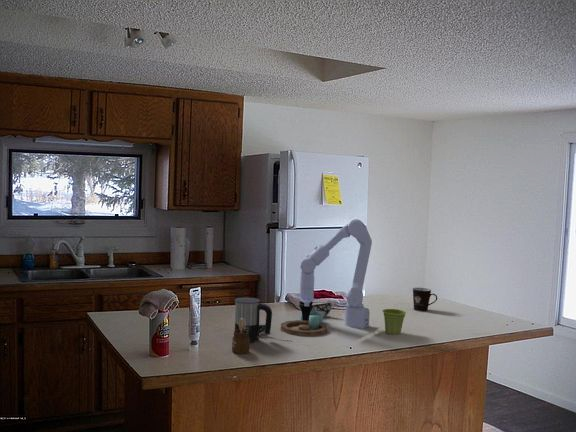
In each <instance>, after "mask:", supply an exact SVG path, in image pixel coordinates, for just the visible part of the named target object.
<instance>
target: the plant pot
mask: <svg viewBox="0 0 576 432" xmlns="http://www.w3.org/2000/svg"><path fill="white" fill-rule="evenodd" d="M382 312H383V318H384V330H385V333H386V334H388V335H389V334H390V335H400V334H402V328H403V324H404V319H405V316H406V314H407V311H405V310H403V309H396V308H385V309H382Z"/></svg>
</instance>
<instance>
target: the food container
mask: <svg viewBox="0 0 576 432" xmlns="http://www.w3.org/2000/svg"><path fill="white" fill-rule="evenodd" d="M312 302H313V304H312V305H313V308H312V310H311V314H310V315H313V312H314V311H320V312H323V318H325V317H326V316H328V315H329V314H330V312H331V311H332V307H333V303H332V302H324V301H323V302H321V301H315V302H314V301H312ZM298 305H299V304H298ZM299 308H300V305H299ZM299 310H300V311H301V308H300V309H299Z"/></svg>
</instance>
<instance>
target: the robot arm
mask: <svg viewBox="0 0 576 432" xmlns="http://www.w3.org/2000/svg"><path fill="white" fill-rule="evenodd" d="M350 237H353V238H355V240H356V241H357V242H358V243H359V250H358V256H357V260H356V263H355V265H356V266H355V269H354V274H353V280H352V285H351V289H350V290H349V291H348V293H347V297H346V301H347V303H345V315H344V326H346V327H349V328H356V329H362V330H364V329H366V328H368V327H369V326H370V313H371V312H370V309H369V308H368V307H365V306H364V304H363V301H364V299H363V298H364V292H363V290H364V289H363V288H364V284H365V278H366V274H367V269H368V265H369V264H368V263H369V258H370V255H371V249H372V243H373V240H372V237H371V235H370V232H369V230H368V228H367V226H366V224H365V223H363V221H362V220H360V219H358V218H357V219H351V221H350V222H349V223H347V224H346V225H344V226H343V227H341V228H340V229H339V230H338V231H337V232H336V233H335V234H334V235H333V236H332V237H331V238H330V239H329V240H328V241H327V242H326V243H325V244H323V245H322V244H321V245H317V246H315V247H314V250H313V251H312V252H311V253H310V254H307V255H306V256H305V257H306V258H305V259H303V260H302V261H301V263H300V269H301V270H300V271H301V272H300V279H299V280H300V284H299V296H298V297H296V300H299V302H298V303H299V304H298V305H300V307H299V308H301V310H300V312H301V311H302V319H303V320H304V321H308V320H309V316H310V312H311V310H312V308H313V305H312V304H313V302H314V301H315V300H314V298H315V297H314V293H315V292H314V291H315V290H314V289H315V269H316V267H319V265H321V263H323V261H325V260H326V259H327V258H329V256H330V250H332V249H333V248H334V247H335V246H337V245H338V244H339V242H340V241H342V240H343V239H345V238H350Z"/></svg>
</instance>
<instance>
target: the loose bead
mask: <svg viewBox="0 0 576 432" xmlns="http://www.w3.org/2000/svg"><path fill="white" fill-rule="evenodd" d="M313 315H317V316H319V323H322V324H323V319H324V317H323V312H320V311H314V312H313Z"/></svg>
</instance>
